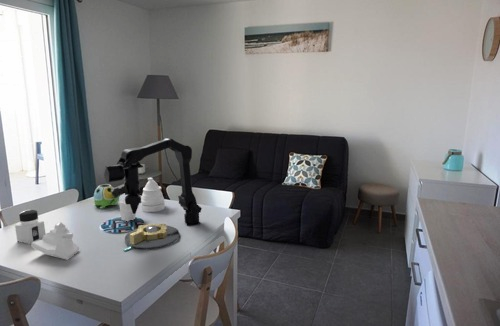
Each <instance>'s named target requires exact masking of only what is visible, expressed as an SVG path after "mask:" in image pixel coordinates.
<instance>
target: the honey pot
mask: <svg viewBox="0 0 500 326" xmlns="http://www.w3.org/2000/svg"><path fill="white" fill-rule="evenodd" d="M147 180H148V181H147V182H146V184H145V186H144V187H143V189H142V194H141V195H142V196H141V203H140V210H141V211H142V212H145V213H154V212H155V213H156V212H160V211H163V210H164V209H165V208H166V207H165V198H164V196H163V192H162V186H159V185H158V183H157V182H156V181H155V180H154V178H153V177H147Z"/></svg>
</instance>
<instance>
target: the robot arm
mask: <svg viewBox="0 0 500 326" xmlns="http://www.w3.org/2000/svg"><path fill="white" fill-rule="evenodd" d="M167 149H170V150H171V151H172V152H174V155H175V159H176V160H177V163H178V164H179V165H178V166H179V174H180V183H181V184H180V186H181V194H180V195H178V196H177V197H178V204H179V205H180V207H181V208H183V210H184V211H185V213H184V214H183V215H184V223H185V224H186V226H187V227H188V226H195V225H200V224H201V223H200V213H201V212H202V209H203V208H202V207H201V206H200V205H198V201H197V198H196V196H195V194H194V193H193V188H192V187H193V186H192V175H191V165H190V163H191V161H192V158H193V157H192V156H193V150H192V147H191V146H189V145H187V144H182V143H180V142H177V141H176V140H174V139H173V138H168V137H167V138H164V139H160V140H159V141H155V142H152V143H149V144H147V145H143V146H139V147H130V148H125V149H124V150H122V151H121V155H120V158H119V159H118V161H117V163H116V164H114V165H105V169H104V172H103V173H104V174H103V175H104V179H105V182H106V184H109V183H114V182H120V181H123V180H124V181H123V183H122V184H120V185H117V186H116V187H114V188H113V189H111V193H112V195H113V197H114V198H116V197H118V196H120V197H121V196H122V195H124V196H125V197H124V199H125V204H130V206H131V209H132V212H133V214H135V213H136V214H137V211H138V209H139V205H140V204H141V199H142V196H141V195H140V193H141V189H140V176H139V169H141V168H144V165H143V164H141V163H140V162H141V161H142V160H143V159H144V158H146V157H147V156H150V155H153V154H156V153H158V152H161V151H163V150H167ZM136 214H135V215H136Z"/></svg>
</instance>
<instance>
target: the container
mask: <svg viewBox="0 0 500 326" xmlns="http://www.w3.org/2000/svg"><path fill="white" fill-rule="evenodd" d="M18 216H19V217H18V218H19V223H17V224H15V226H14V228H15V235H16V241H17V242H18V241H19V243H22V242H24V243H23V244H27V243H29V244H28V245H32V242H35V241H39V240H42V238H43V236H44V235H45V234H46V228H45V221H44V220H39V215H38V211H37V210H35V209H27V210H24V211H21V212H20V213H19V214H18Z"/></svg>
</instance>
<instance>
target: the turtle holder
mask: <svg viewBox="0 0 500 326" xmlns="http://www.w3.org/2000/svg"><path fill="white" fill-rule="evenodd" d="M113 188H115V187H114V186H112V185H111V184H109V183H105V184H100V185H98V186H97V187H96V188H95V190H94V193H93V203H94V206H95V207H99V206H100V207H99V209H101V210H104V209H105V208H106V207H107V206H117V205H119V201H120V197H121V195H120V196H118V197H116V198H114V197H113V195H112V193H111V189H113Z"/></svg>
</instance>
